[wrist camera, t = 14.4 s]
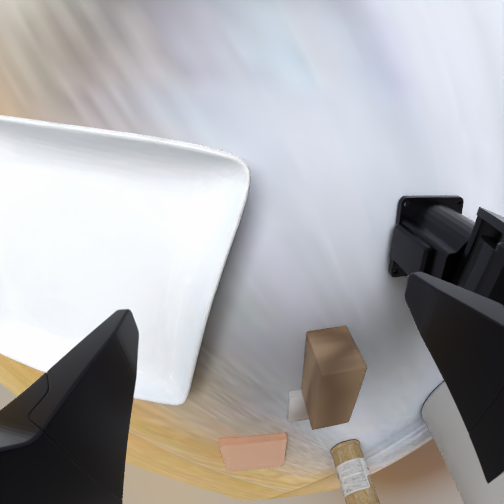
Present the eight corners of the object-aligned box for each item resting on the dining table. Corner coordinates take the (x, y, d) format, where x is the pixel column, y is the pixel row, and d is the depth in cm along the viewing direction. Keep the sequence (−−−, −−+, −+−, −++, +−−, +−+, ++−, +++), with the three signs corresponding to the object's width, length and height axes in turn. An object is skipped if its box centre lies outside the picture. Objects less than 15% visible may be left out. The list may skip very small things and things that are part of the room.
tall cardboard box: (359, 323, 25) (381, 363, 20) (338, 407, 31) (350, 442, 26) (291, 333, 24) (305, 378, 20) (287, 416, 30) (295, 453, 26)
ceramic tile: (287, 438, 31) (283, 465, 35) (285, 429, 32) (281, 457, 36) (219, 445, 30) (226, 471, 34) (218, 435, 32) (225, 462, 36)
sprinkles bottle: (356, 448, 37) (381, 519, 25) (328, 455, 37) (349, 529, 25) (361, 435, 35) (389, 512, 23) (330, 443, 35) (354, 524, 23)
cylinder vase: (447, 365, 31) (533, 515, 8) (497, 353, 32) (574, 467, 10) (405, 422, 36) (461, 553, 14) (458, 406, 38) (514, 513, 16)
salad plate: (187, 383, 26) (185, 412, 23) (-5, 326, 22) (-20, 348, 19) (253, 151, 18) (260, 160, 15) (-19, 107, 13) (-48, 112, 10)
